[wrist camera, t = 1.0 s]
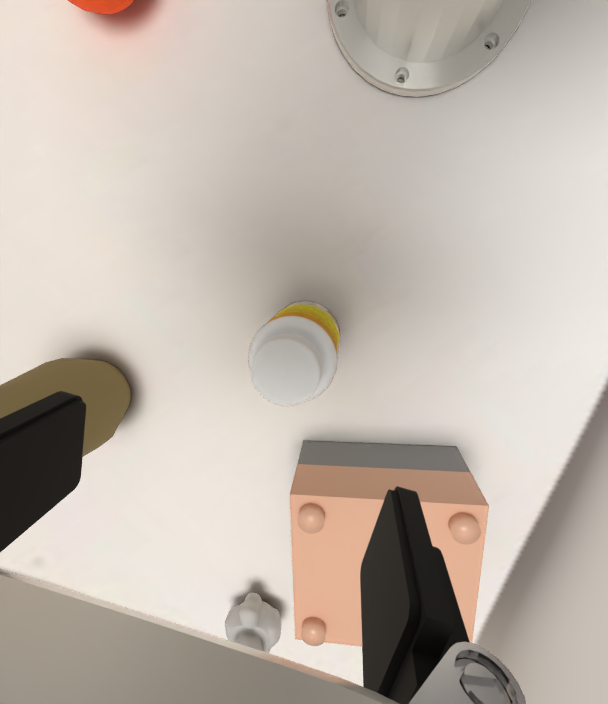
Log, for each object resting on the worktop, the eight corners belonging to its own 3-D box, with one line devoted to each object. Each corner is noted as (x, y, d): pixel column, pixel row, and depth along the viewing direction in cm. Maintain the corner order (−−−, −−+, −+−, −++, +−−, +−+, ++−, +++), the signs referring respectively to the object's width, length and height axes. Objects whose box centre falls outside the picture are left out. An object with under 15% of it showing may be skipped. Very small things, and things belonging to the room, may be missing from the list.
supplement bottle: (276, 295, 30) (239, 316, 20) (345, 305, 29) (342, 331, 19) (269, 361, 31) (232, 411, 21) (335, 371, 31) (327, 427, 21)
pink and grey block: (303, 440, 33) (287, 501, 25) (456, 446, 31) (493, 514, 23) (306, 560, 36) (293, 649, 28) (444, 572, 34) (473, 669, 26)
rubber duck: (236, 625, 39) (208, 716, 32) (230, 575, 38) (199, 658, 30) (286, 630, 39) (270, 723, 31) (282, 579, 37) (265, 664, 29)
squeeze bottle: (135, 441, 35) (-77, 626, 18) (56, 412, 35) (-229, 566, 18) (151, 364, 33) (-73, 490, 15) (67, 334, 33) (-248, 424, 16)
